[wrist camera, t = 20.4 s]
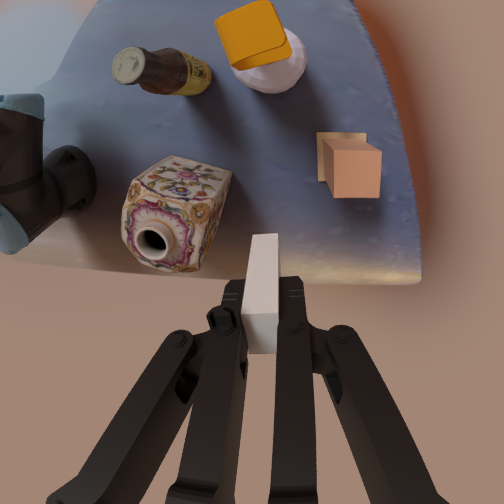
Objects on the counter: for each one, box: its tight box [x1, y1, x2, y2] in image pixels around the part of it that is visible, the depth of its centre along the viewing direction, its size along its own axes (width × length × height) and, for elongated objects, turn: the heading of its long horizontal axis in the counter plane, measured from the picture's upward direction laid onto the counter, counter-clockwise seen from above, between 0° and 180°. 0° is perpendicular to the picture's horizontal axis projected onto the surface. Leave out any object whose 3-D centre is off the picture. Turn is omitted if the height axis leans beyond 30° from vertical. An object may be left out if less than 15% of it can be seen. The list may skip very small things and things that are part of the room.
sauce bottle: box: [111, 47, 213, 96], centre depth 27 cm, size 6×6×20 cm
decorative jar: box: [121, 155, 232, 273], centre depth 39 cm, size 12×12×18 cm
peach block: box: [323, 139, 382, 198], centre depth 35 cm, size 6×6×10 cm
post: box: [316, 132, 366, 181], centre depth 37 cm, size 8×8×7 cm
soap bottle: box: [214, 0, 307, 94], centre depth 23 cm, size 9×9×25 cm
